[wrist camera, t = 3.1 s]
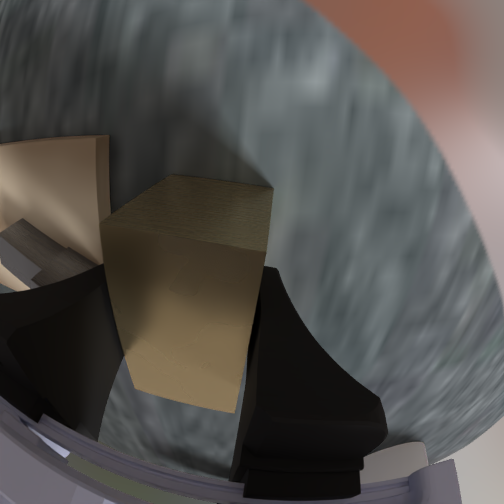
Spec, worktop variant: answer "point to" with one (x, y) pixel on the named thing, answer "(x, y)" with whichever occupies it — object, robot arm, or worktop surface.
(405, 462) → the base with upright slab
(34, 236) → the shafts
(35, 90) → the worktop surface
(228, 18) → the worktop surface
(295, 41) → the worktop surface
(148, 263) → the gold rectangular block
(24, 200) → the wooden board
